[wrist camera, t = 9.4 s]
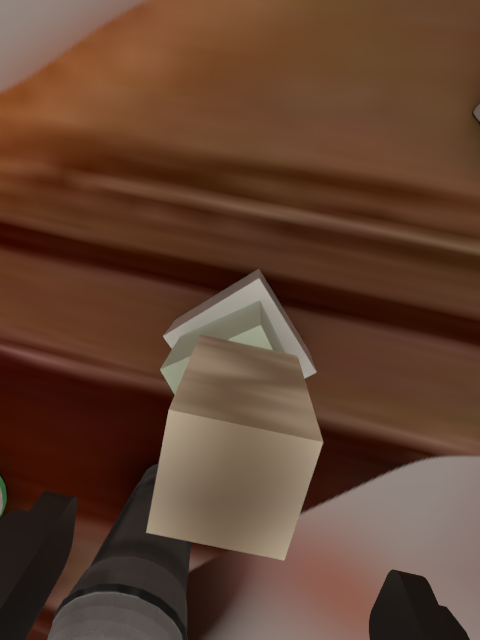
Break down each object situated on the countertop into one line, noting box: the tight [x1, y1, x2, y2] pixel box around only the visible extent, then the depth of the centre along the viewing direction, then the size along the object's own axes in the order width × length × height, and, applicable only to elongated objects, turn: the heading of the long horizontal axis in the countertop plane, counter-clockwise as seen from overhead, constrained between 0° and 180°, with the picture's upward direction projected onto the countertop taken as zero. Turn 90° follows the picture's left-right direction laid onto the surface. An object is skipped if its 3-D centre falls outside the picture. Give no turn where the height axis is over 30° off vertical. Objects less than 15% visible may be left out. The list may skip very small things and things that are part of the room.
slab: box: [163, 269, 316, 379], centre depth 26 cm, size 7×7×4 cm
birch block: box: [146, 335, 323, 560], centre depth 16 cm, size 5×5×7 cm
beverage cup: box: [47, 464, 191, 640], centre depth 22 cm, size 7×7×20 cm
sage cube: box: [160, 300, 285, 395], centre depth 21 cm, size 6×6×5 cm
